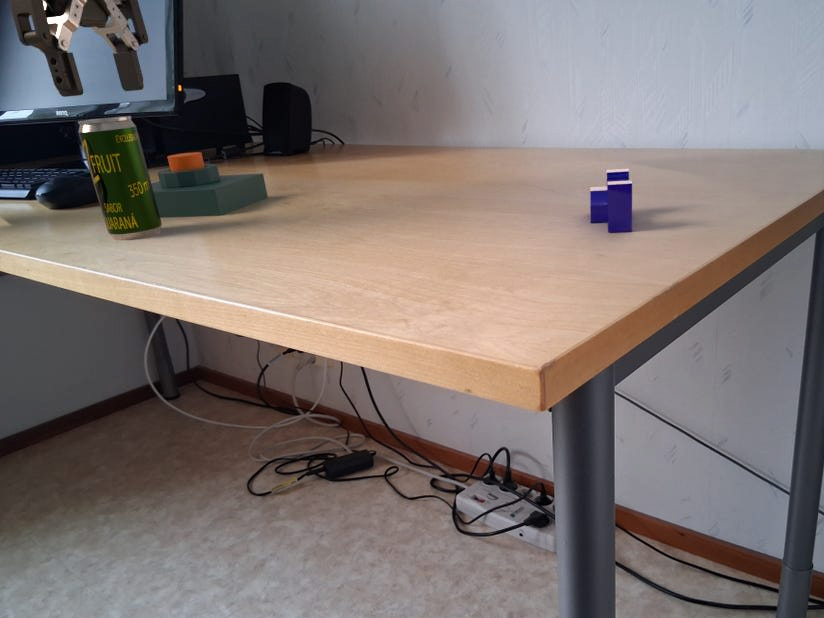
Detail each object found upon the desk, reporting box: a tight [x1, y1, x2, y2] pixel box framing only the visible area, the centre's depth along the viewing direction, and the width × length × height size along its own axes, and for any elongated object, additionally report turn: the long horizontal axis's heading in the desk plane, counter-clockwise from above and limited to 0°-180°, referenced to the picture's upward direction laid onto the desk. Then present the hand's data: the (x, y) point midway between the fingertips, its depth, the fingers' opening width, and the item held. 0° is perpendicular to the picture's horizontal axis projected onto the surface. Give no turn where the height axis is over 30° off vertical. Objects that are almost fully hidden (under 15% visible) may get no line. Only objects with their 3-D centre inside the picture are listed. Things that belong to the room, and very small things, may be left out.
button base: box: [151, 163, 269, 219], centre depth 88 cm, size 14×11×5 cm
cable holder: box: [589, 168, 633, 233], centre depth 62 cm, size 8×4×4 cm, turn 171°
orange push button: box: [166, 151, 205, 171], centre depth 86 cm, size 4×4×2 cm
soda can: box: [77, 115, 163, 241], centre depth 73 cm, size 5×5×12 cm
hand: (104, 93), depth 70 cm, fingers open, 8 cm apart
